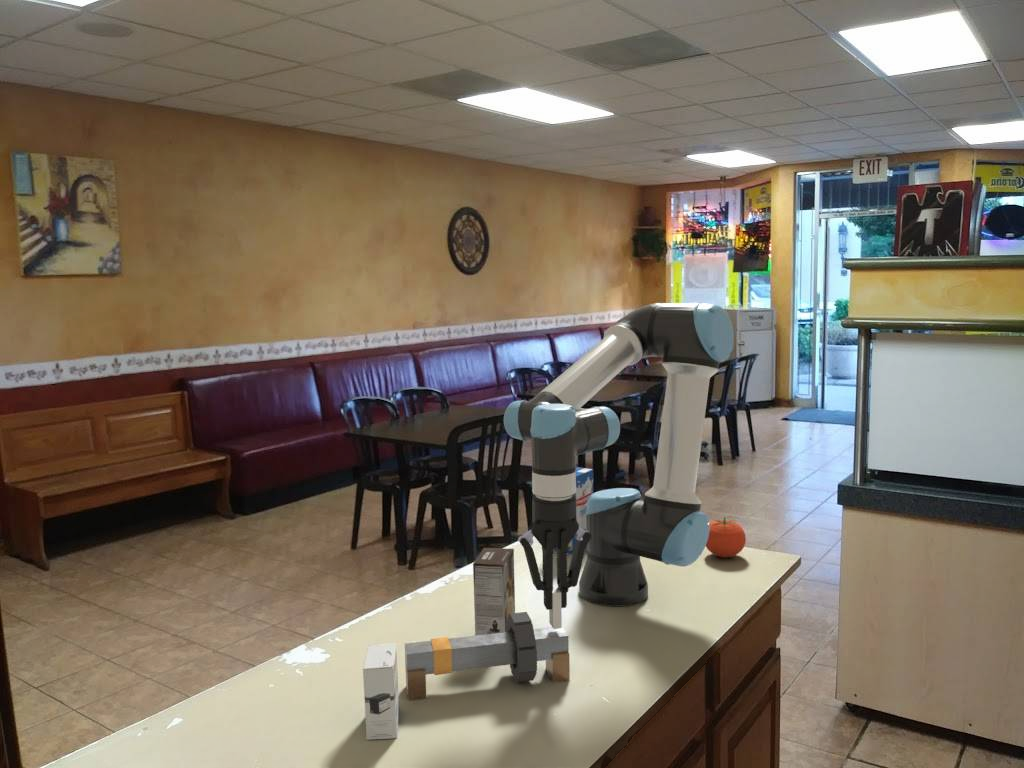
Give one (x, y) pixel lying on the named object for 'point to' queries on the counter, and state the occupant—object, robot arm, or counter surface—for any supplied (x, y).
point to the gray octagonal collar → (523, 646)
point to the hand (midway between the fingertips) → (555, 625)
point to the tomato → (725, 538)
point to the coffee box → (493, 590)
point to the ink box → (381, 691)
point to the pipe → (481, 656)
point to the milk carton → (581, 499)
